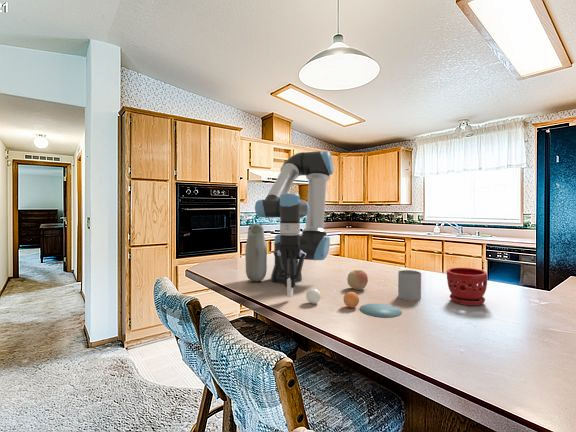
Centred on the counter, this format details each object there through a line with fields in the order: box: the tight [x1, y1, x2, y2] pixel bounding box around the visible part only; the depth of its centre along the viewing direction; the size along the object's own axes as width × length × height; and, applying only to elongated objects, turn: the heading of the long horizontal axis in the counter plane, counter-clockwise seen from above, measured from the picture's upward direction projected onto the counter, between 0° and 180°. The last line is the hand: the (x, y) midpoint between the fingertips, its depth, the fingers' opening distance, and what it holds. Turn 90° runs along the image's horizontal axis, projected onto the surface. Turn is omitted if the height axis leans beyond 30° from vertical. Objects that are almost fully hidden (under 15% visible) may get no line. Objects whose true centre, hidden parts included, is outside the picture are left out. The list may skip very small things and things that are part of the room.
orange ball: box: [343, 291, 360, 309], centre depth 113 cm, size 6×6×6 cm
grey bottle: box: [244, 222, 268, 283], centre depth 153 cm, size 10×10×28 cm
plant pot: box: [446, 267, 488, 307], centre depth 119 cm, size 13×13×12 cm
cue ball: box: [305, 288, 322, 305], centre depth 118 cm, size 6×6×6 cm
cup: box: [397, 269, 422, 302], centre depth 125 cm, size 8×8×10 cm
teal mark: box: [359, 303, 402, 318], centre depth 110 cm, size 14×14×1 cm
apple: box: [346, 269, 369, 291], centre depth 138 cm, size 9×9×8 cm
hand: (290, 295), depth 121 cm, fingers closed
